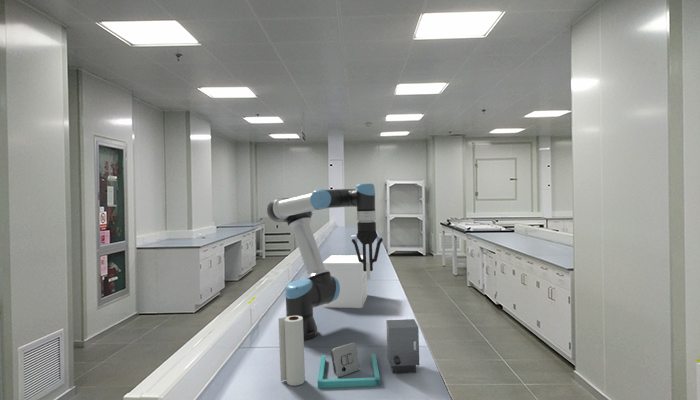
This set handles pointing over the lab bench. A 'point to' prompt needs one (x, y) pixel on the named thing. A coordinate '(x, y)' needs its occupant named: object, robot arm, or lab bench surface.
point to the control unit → (403, 345)
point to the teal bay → (350, 381)
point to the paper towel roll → (292, 350)
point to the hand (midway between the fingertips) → (368, 278)
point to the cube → (348, 280)
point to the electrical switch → (345, 359)
